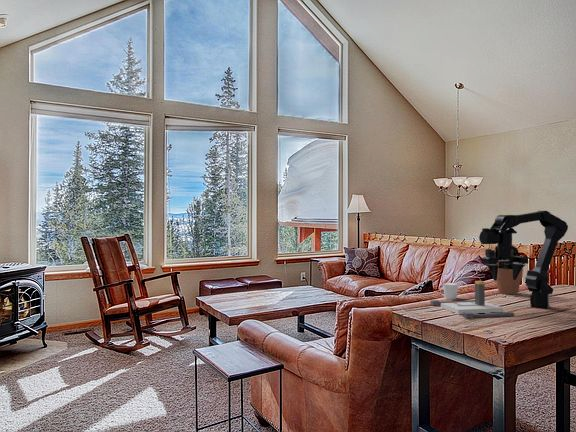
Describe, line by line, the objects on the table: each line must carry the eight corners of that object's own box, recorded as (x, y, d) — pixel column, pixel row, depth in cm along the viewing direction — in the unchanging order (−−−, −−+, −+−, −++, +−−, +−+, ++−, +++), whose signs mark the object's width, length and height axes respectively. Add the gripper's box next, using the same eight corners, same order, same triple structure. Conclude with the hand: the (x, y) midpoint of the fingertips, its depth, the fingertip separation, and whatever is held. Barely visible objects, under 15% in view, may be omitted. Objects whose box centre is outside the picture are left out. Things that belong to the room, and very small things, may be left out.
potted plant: (490, 290, 235) (489, 243, 235) (517, 291, 233) (516, 243, 233) (498, 295, 221) (498, 245, 221) (527, 295, 219) (527, 245, 219)
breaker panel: (482, 305, 195) (482, 301, 195) (503, 312, 181) (503, 307, 181) (440, 307, 191) (440, 302, 191) (458, 314, 178) (458, 309, 178)
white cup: (459, 299, 210) (459, 285, 210) (444, 299, 211) (444, 284, 211) (456, 297, 217) (456, 282, 217) (442, 296, 218) (442, 282, 218)
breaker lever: (480, 303, 189) (480, 280, 189) (484, 304, 186) (484, 281, 186) (475, 303, 188) (474, 281, 188) (479, 304, 185) (479, 282, 185)
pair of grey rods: (473, 302, 202) (473, 298, 202) (515, 316, 174) (515, 311, 174) (430, 304, 198) (430, 300, 198) (466, 318, 170) (466, 313, 170)
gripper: (511, 242, 199) (511, 277, 199) (473, 243, 195) (473, 278, 195) (529, 244, 188) (529, 280, 188) (489, 244, 185) (489, 281, 184)
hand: (504, 280), depth 189 cm, fingers open, 9 cm apart
